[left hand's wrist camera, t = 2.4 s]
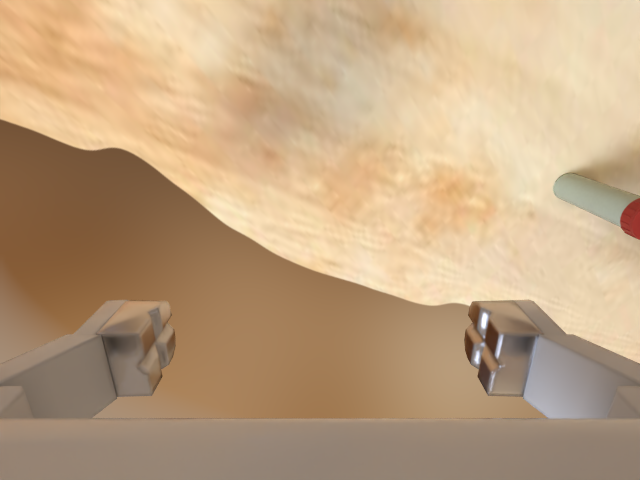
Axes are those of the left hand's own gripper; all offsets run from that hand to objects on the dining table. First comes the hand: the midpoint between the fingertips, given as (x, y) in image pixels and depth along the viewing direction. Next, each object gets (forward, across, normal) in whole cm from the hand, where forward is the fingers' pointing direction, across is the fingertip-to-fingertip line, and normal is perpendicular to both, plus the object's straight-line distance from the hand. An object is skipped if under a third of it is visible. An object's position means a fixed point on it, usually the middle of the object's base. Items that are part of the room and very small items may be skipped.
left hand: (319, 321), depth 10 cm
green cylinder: (+48, -38, +8) cm, 61 cm away
